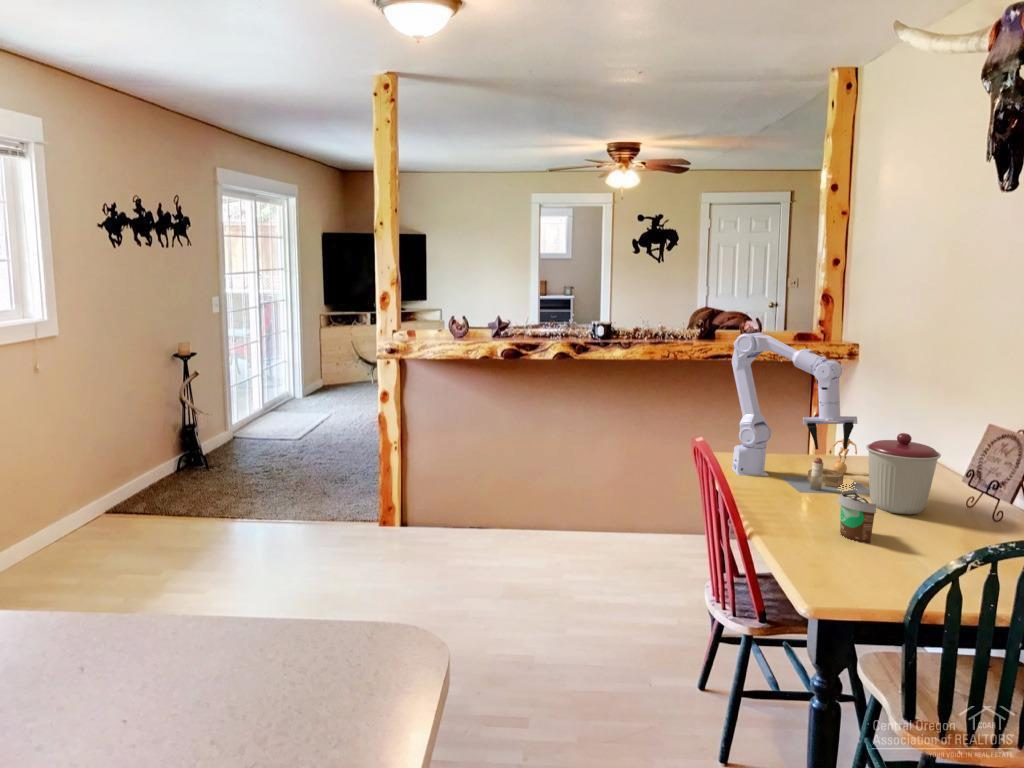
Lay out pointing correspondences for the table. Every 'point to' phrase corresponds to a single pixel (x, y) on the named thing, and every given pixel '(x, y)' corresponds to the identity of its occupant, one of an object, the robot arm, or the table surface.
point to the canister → (901, 474)
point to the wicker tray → (829, 478)
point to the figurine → (841, 465)
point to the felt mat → (804, 486)
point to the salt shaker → (816, 474)
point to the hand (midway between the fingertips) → (830, 448)
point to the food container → (856, 516)
